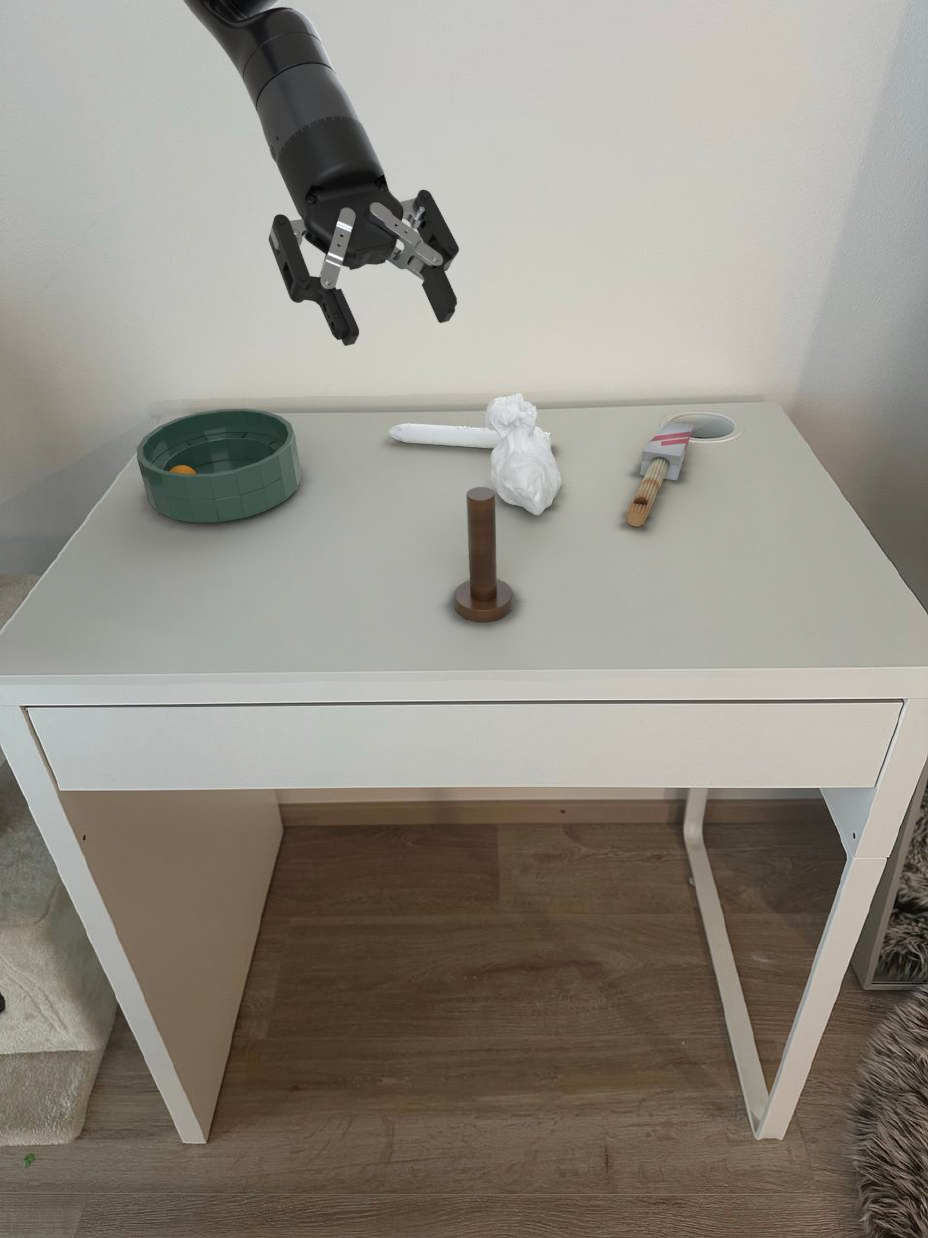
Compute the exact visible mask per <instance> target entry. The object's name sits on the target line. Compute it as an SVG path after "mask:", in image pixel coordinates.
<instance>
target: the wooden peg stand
mask: <svg viewBox="0 0 928 1238" xmlns="http://www.w3.org/2000/svg"><path fill="white" fill-rule="evenodd" d="M465 496H466V518H467V519H466V520H467V546H468V547H467V548H468V573H469V574H468V575H469V579H468V580H466V581H464V582H462V583H461V584H460V585H458V586H457V588H456V589H455V590H454V608H455V611H456V613H457V614H458V615H459V616H460V617H461V618H463V619H466V620H468V621H471V622H475V623H490V622H495V621H498V620H501V619H503V618H505V617H507V616H508V615H509V614H510V613H511V611H512V609H513V606H514V593H513V589H512V587H511V586H510V584H508V583H507V582H505V581H503V580H501V579H498V576H497V575H498V572H497V569H498V568H497V567H498V566H497V523H496V521H497V520H496V518H497V517H496V492H495V490H494V489H493V488H491V487H488V486H487V487H486V486H475V487H473V488H470V489H469V490H468V491H467V492H466V495H465Z"/></svg>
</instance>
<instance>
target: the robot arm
mask: <svg viewBox="0 0 928 1238" xmlns="http://www.w3.org/2000/svg"><path fill="white" fill-rule="evenodd" d="M182 1H183V3H184V4H185V6H186V7H187V8H188V10H189V12H191V14H192V15H193V16H194V17H195V18H196V19H197V20H198V21H199V23H200V24H201V25H202V26H203V27H204V28H205V30H206V31H208V33H209V35H211V36H212V37H213V38H214V40H215V41H216V42H217V43H218V44H219V46H220V47H221V49H222V50H223V52H224V53H225V54H226V55H227V57H228V58H229V60H230V62H231V63H232V64H233V66H234V68H235V69H236V71H237V73H238V74H239V75H240V78H241V80H242V82H243V84H244V86H245V89H246V92H247V93H248V95H249V98H250V100H251V102H252V104H253V107H254V109H255V110H256V113H257V116H258V119H259V121H260V126H261V129H262V131H263V136H264V140H265V141H266V144H267V146H268V148H269V153H270V156H271V158H272V160H273V161H274V163H275V164H276V166H277V169H278V171H279V173H280V176H281V178H282V181H283V182H284V185H285V187H286V189H287V192H288V194H289V196H290V198H291V200H292V203H293V205H294V207H295V209H296V212H297V214H298V216H300V219H295V220H294V219H293V220H290V219H289V217H287V215H286V214H281V213H278V214H276V215H275V216H274V217H273V221H272V225H271V228H270V231H269V235H268V242H269V245H270V248H271V251H272V254H273V256H274V259H275V262H276V264H277V268H278V270H279V272H280V275H281V278H282V280H283V283H284V286H285V289H286V292H287V294H288V297H289V299H290V300H291V301H292V302H294V303H296V304H300V303H303V302H305V301H309V302H314V303H316V305H318V306H319V308H320V310H321V312H322V314H323V317H324V318H325V321H326V324H327V325H328V328H329V330H330V332H331V334H332V336H333V337H334V338H335V339H336V340H337V341H340V340H341V342H342V344H343V346H345V347H347V346H351V345H355V344H356V342H357V340H358V338H359V336H360V328H359V326H358V323H357V321H356V318H355V317H354V315H353V312H352V310H351V307H350V306H349V303H348V301H347V299H346V296H345V294H344V291H343V289H342V288H337V287H336V285H337V282H338V279H339V276H340V272H341V268H342V267H346V268H348V269H349V271H353V270H358V269H360V268H362V267H364V266H366V265H372V266H375V265H376V266H377V265H382V264H386V261H387V262H389V263H391V264H392V265H393V266H395V267H396V268H397V269H399V270H407V271H408V272H410V273H411V274H413V275H414V276H416V277H417V278H418V279H420V280H421V281H422V283H421V287H422V289H423V291H424V294H425V296H426V298H427V300H428V302H429V304H430V307H431V309H432V311H433V313H434V316H435V318H436V320H437V322H438V323H439V324H442V323H443V324H444V323H447V322H450V320H451V319H452V317H453V315H454V314H455V312H456V307H457V305H458V297H457V296H456V293H455V291H454V289H453V287H452V285H451V281H450V280H449V277H448V276H447V273H446V272H447V271H448V270H449V269H450V268H451V265H452V263H453V261H454V260H455V258H456V256H457V255H458V253H459V252H460V247H459V245H458V243H457V241H456V239H455V237H454V235H453V234H452V231H451V230H450V227H449V226H448V224H447V222H446V220H445V218H444V216H443V214H442V212H441V210H440V208H439V207H438V205H437V202H436V201H435V199H434V197H433V195H432V193H431V192H430V191H429V190H427V189H420V190H418V192H417V195H416V196H415V197H414V198H410V199H405V200H402V201H400V200H399V199H398V198H397V197H395V195H394V194H393V193H392V192H391V190H390V189H389V185H388V181H387V178H386V174H385V171H384V169H383V166H382V164H381V162H380V160H379V158H378V155H377V153H376V151H375V149H374V147H373V144H372V142H371V140H370V137H369V136H368V134H367V131H366V128H365V127H364V125H363V123H362V120H361V118H360V115H359V113H358V111H357V109H356V106H355V104H354V102H353V101H352V99H351V96H350V95H349V94H348V92H347V90H346V89H345V87H344V85H343V84H342V82H341V81H340V79H339V77H338V74H337V72H336V70H335V68H334V66H333V63H332V62H331V60H330V57H329V54H328V52H327V51H326V48H325V46H324V44H323V42H322V40H321V37H320V35H319V33H318V31H317V29H316V27H315V25H314V24H313V22H312V20H311V19H310V18H309V17H308V16H307V15H306V13H305V14H304V13H303V12H302V11H300V10H299V9H296V8H294V7H289V6H278V7H275V6H277V4H279V2H281V0H182ZM403 220H406V221H407V222H408V223H409V224H410V225H407V224H406V223H405V222H403ZM303 238H304V239H305V240H306V242H308V243H309V244H310V245H312V246H313V247H315V248H316V249H318V250H319V251H321V252H322V253H323V254H324V259H323V262H322V266H321V269H320V272H319V276H313V275H311V274H310V271H309V269H308V266H307V264H306V261H305V258H304V256H303V253H302V250H301V246H302V242H303ZM398 241H399V242H401V243H402V244H403V249H400V248H399V247H397V244H398Z"/></svg>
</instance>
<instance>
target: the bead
mask: <svg viewBox="0 0 928 1238" xmlns="http://www.w3.org/2000/svg"><path fill="white" fill-rule="evenodd" d="M170 472H176V473H182V474H196V472H195V471H194V470H193V469H192V468H190V467H188V466H185V465H179V466H176V467H174V468H172V469H171V470H170Z"/></svg>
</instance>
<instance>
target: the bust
mask: <svg viewBox="0 0 928 1238" xmlns="http://www.w3.org/2000/svg"><path fill="white" fill-rule="evenodd" d="M538 414H539V413H538V410H537V406H536V405H533V404H532V403H531V402H530V401H528V400H526V401H525V399H524V397H523V394H522V393H520V392H519V393H516V394H515V393H513V394H512V395H511V394H510V395H508V396H498V397H495V398H493V399H492V400H491V401H490V402H489V404H488V406H487V408H486V409H485V413H484V416H483V423H484V426H485V427H487V428H488V429H489V430H491V431H496V432H497V433H498V435H499V436H500V438H501V440H500V442H499V443H498V445H497V446H496V447H495V448H494V449H493V450H492V451H491V454H490V461H491V462H490V463H491V464H490V465H491V466H490V468H491V470H490V479H491V483H492V485H493V486H494V488H495V490H496V493H497V494H498V496H499V497H500V498H501V500H503V501H504V502H505V503H507V504H509V505H512V506H519V507H522V508H523V509H525V510H526V511H527V512H528V513H531V514H532V515H533V516H541V515H542V514H543V512H544V511H545V509H547V508H550V507H551V506H552V504H553V501H554V499H555V498H556V496H557V495H558V492H559V490H560V489H561V486H562V481H563V479H562V475H561V473H560V470H559V467H558V464H557V461H556V459H555V456H554V454H553V452H552V445H551V446H550V444H549V441H548V438H547V436H546V435H545V434H544V432H545V431H544V430H543V429H542V428H540V427H539V426H537V419H538Z"/></svg>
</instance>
